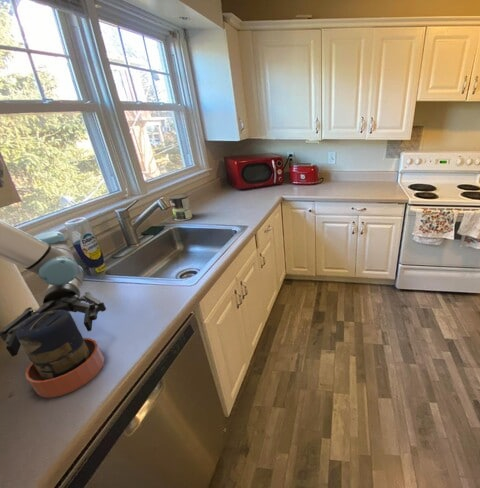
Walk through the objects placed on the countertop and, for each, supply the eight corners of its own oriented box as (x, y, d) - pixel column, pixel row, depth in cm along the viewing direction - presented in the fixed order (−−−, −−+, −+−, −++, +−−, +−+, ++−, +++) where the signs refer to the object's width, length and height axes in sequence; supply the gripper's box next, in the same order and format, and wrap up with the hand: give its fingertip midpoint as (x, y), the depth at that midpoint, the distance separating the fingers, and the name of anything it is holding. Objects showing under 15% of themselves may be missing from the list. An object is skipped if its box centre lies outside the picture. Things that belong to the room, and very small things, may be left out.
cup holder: (33, 378, 70) (22, 361, 68) (97, 346, 80) (89, 330, 77) (42, 411, 63) (30, 393, 60) (112, 372, 72) (104, 355, 69)
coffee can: (177, 222, 168) (171, 199, 161) (172, 217, 175) (166, 196, 168) (195, 218, 174) (190, 196, 168) (189, 214, 181) (184, 192, 175)
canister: (36, 385, 68) (-2, 328, 60) (76, 354, 76) (47, 301, 68) (67, 393, 66) (31, 335, 58) (104, 361, 74) (77, 307, 66)
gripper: (118, 290, 90) (119, 329, 74) (10, 321, 77) (-16, 375, 61) (110, 270, 86) (110, 306, 71) (-4, 299, 74) (-36, 350, 58)
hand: (51, 338), depth 66 cm, fingers open, 13 cm apart
